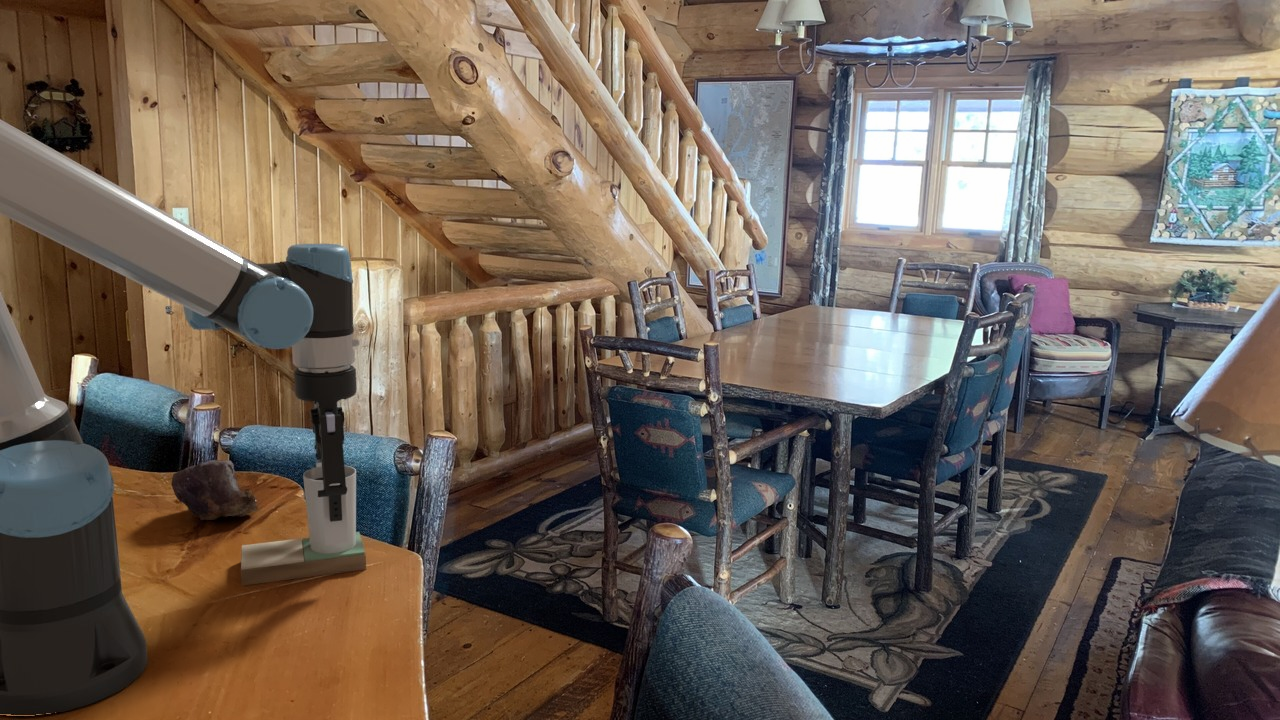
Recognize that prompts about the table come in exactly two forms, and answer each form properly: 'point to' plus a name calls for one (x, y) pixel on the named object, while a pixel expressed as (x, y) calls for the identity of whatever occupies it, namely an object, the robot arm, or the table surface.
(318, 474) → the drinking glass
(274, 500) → the table surface
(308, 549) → the cream and green board
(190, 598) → the table surface
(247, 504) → the rock
